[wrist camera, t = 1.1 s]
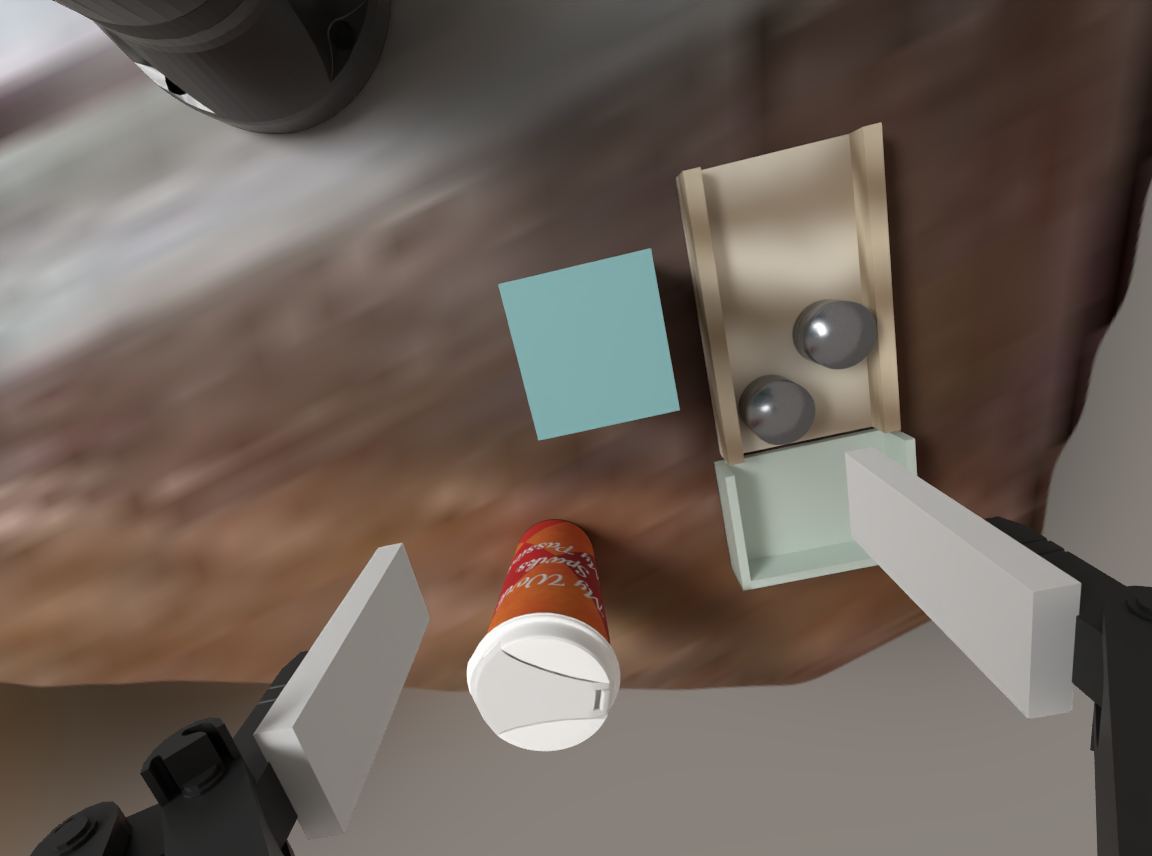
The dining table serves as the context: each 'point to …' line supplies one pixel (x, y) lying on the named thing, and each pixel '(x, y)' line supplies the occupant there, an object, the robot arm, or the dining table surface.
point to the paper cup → (547, 645)
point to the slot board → (792, 278)
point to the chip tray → (798, 508)
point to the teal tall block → (591, 344)
